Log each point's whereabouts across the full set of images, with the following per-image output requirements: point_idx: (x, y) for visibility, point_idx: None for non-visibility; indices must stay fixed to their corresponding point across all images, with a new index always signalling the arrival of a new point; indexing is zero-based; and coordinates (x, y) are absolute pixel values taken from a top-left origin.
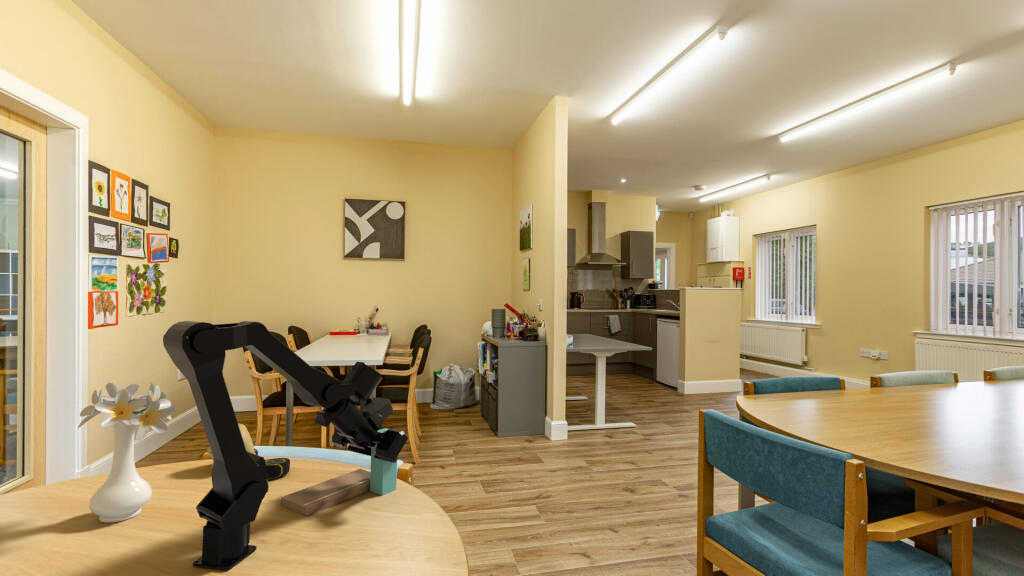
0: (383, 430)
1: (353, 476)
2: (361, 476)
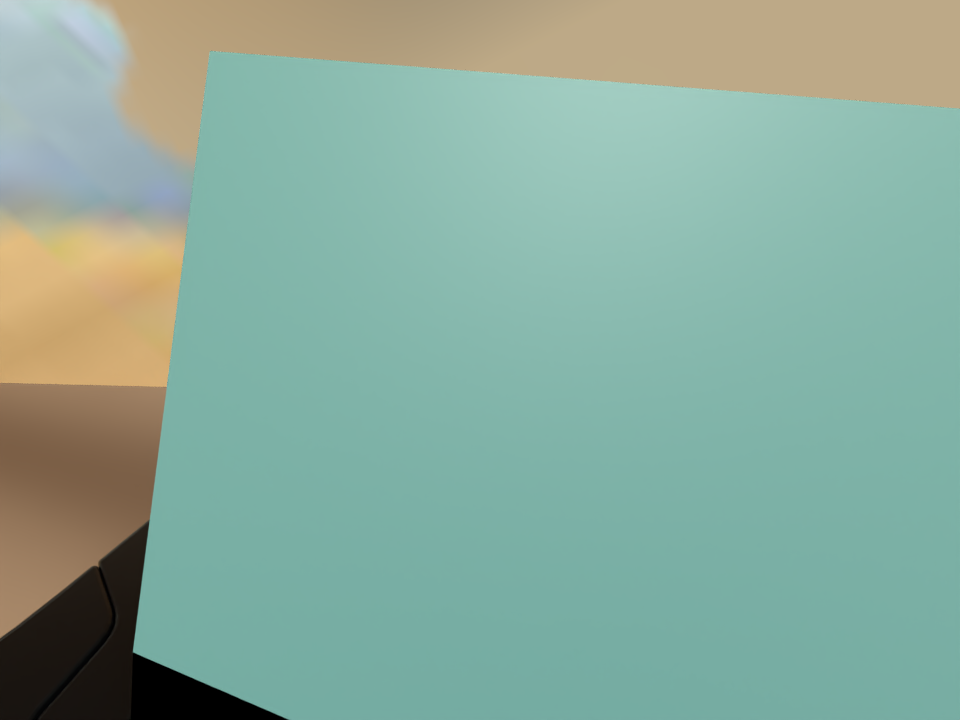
0: (479, 449)
1: (2, 601)
2: (94, 542)
